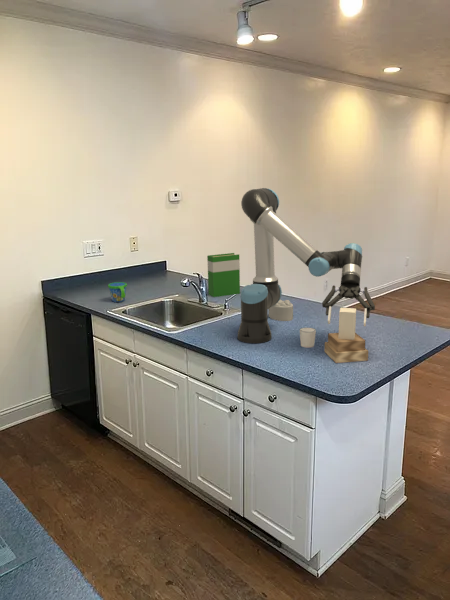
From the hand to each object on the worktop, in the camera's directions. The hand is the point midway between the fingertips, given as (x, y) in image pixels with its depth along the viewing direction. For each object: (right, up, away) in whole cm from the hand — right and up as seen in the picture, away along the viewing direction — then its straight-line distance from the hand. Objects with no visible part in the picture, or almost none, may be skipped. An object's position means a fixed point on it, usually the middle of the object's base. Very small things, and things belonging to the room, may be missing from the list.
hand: (346, 323), depth 193 cm
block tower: (+1, -13, +6) cm, 14 cm away
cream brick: (+1, -5, +4) cm, 7 cm away
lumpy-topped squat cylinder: (-18, 0, +59) cm, 62 cm away
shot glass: (-12, -10, +19) cm, 25 cm away
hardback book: (-48, +13, +109) cm, 120 cm away
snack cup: (-110, +8, +99) cm, 148 cm away
